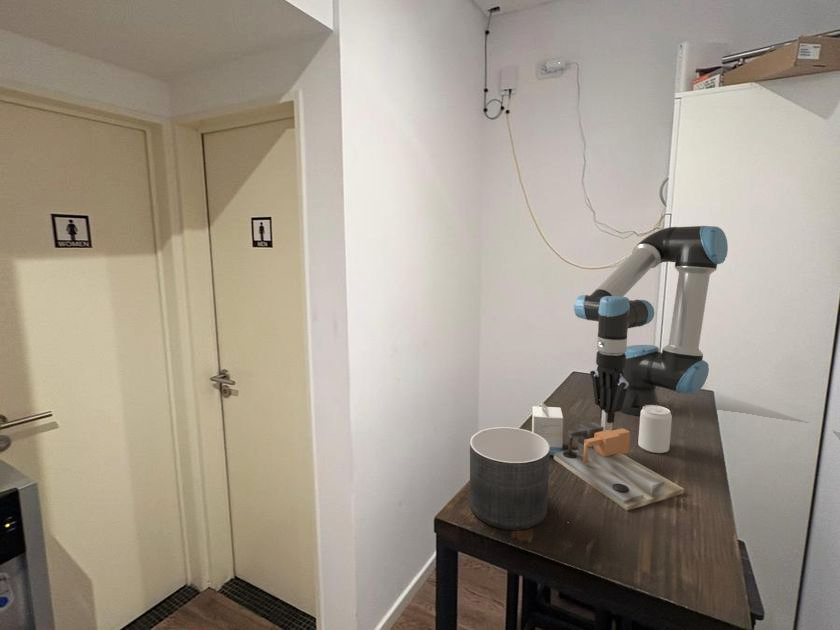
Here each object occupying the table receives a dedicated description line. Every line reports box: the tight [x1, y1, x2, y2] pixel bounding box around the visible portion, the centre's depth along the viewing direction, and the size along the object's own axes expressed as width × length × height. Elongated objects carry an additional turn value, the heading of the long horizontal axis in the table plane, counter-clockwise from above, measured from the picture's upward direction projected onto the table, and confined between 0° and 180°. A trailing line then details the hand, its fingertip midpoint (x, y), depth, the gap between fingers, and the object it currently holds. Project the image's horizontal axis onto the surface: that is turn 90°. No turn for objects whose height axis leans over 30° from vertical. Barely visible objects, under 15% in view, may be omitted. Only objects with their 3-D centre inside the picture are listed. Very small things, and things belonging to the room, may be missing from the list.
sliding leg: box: [583, 427, 631, 463], centre depth 119 cm, size 14×4×7 cm, turn 111°
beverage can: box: [637, 405, 673, 454], centre depth 129 cm, size 8×8×12 cm
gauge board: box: [553, 421, 685, 512], centre depth 115 cm, size 18×26×9 cm
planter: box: [469, 426, 551, 531], centre depth 102 cm, size 18×18×16 cm
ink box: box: [531, 401, 564, 457], centre depth 130 cm, size 9×8×13 cm
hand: (606, 431), depth 127 cm, fingers closed
